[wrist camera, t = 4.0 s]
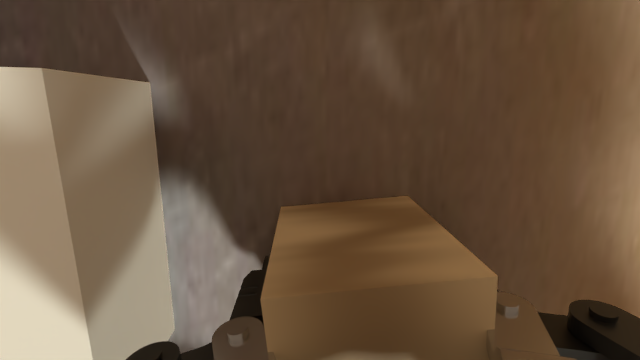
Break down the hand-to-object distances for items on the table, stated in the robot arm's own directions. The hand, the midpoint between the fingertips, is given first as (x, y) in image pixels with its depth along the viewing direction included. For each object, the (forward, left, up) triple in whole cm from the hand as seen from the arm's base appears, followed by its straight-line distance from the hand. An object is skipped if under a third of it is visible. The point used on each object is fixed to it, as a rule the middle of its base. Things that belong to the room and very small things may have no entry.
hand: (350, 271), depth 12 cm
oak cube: (0, 0, -1) cm, 1 cm away
